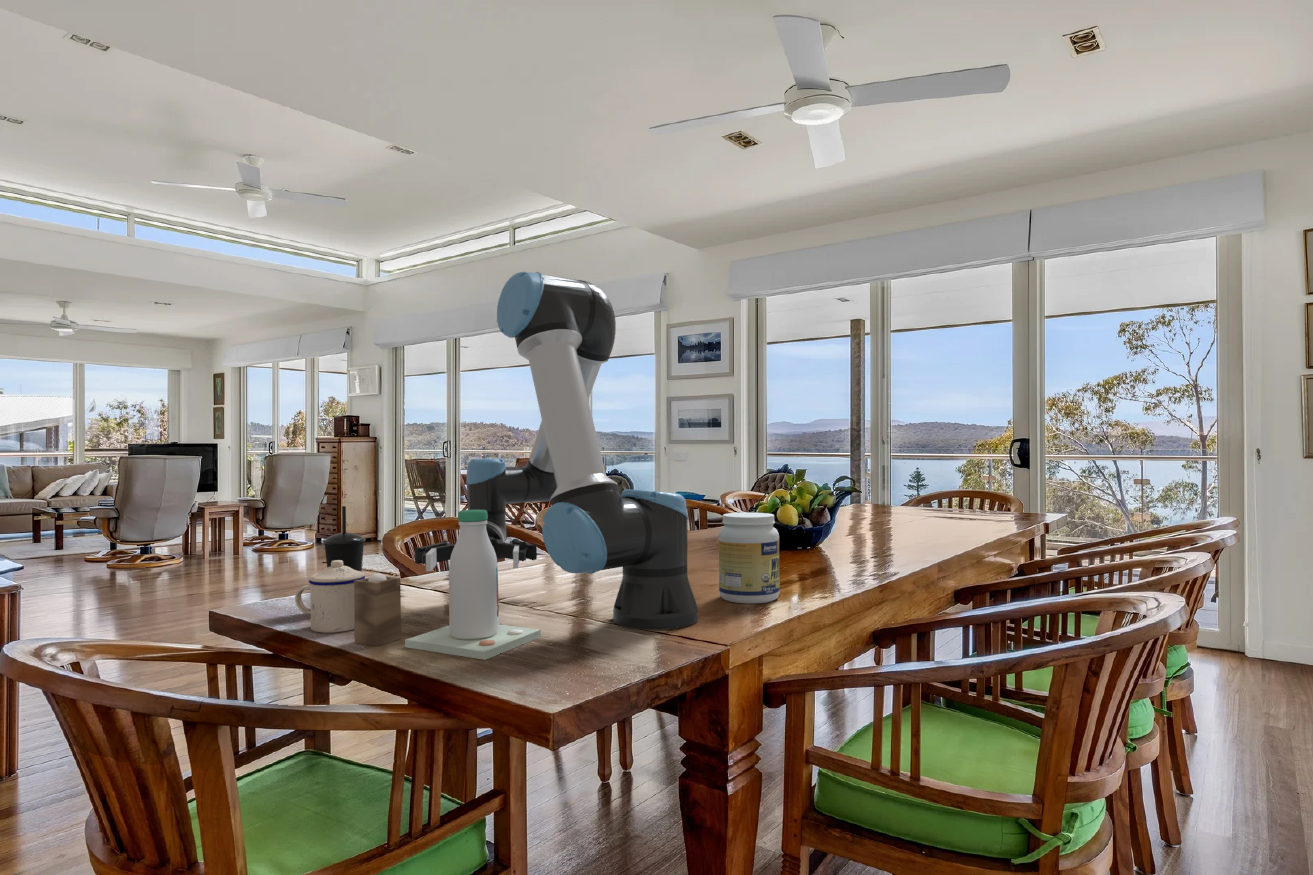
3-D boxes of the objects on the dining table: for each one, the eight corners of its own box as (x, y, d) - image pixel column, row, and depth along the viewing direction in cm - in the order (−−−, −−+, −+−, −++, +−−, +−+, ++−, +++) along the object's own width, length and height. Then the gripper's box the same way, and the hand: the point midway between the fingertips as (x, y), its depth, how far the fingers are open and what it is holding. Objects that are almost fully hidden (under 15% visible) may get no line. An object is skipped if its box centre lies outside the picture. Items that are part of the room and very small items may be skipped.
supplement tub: (771, 607, 143) (769, 518, 143) (710, 602, 148) (709, 516, 148) (786, 594, 155) (785, 512, 155) (729, 590, 159) (728, 510, 159)
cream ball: (391, 590, 123) (391, 572, 123) (376, 594, 120) (376, 575, 120) (378, 589, 124) (377, 571, 124) (363, 592, 122) (363, 574, 122)
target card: (541, 637, 123) (540, 627, 123) (485, 659, 111) (485, 649, 111) (465, 626, 131) (465, 618, 131) (405, 647, 118) (405, 637, 118)
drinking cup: (331, 605, 149) (329, 504, 149) (370, 604, 150) (369, 504, 150) (318, 614, 141) (316, 508, 141) (360, 613, 142) (358, 507, 142)
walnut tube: (400, 638, 123) (400, 577, 123) (377, 646, 119) (376, 583, 119) (378, 635, 126) (378, 575, 126) (354, 642, 121) (354, 580, 121)
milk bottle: (495, 640, 117) (494, 512, 117) (445, 641, 117) (443, 513, 117) (501, 627, 125) (499, 507, 125) (454, 629, 124) (452, 508, 124)
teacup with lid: (374, 620, 136) (373, 556, 136) (351, 633, 127) (350, 565, 127) (309, 620, 137) (308, 556, 137) (282, 633, 127) (281, 565, 128)
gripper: (550, 560, 143) (551, 581, 122) (414, 565, 139) (391, 588, 118) (549, 521, 143) (550, 535, 122) (413, 525, 139) (390, 540, 118)
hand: (472, 561), depth 120 cm, fingers open, 13 cm apart
